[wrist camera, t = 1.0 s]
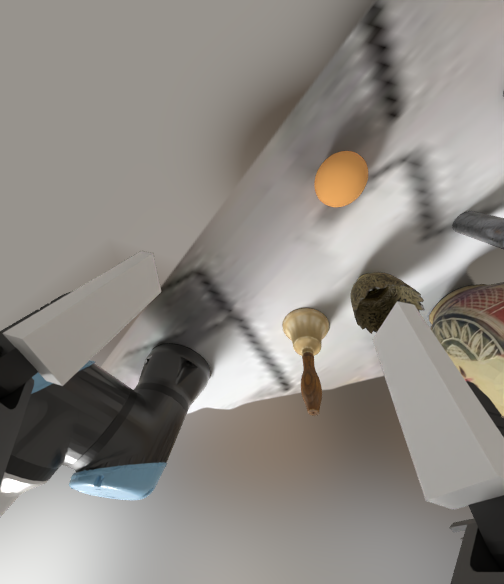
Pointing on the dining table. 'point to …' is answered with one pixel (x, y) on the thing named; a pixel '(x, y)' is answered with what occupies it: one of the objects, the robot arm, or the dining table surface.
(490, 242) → the gate post
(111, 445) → the robot arm
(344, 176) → the ball
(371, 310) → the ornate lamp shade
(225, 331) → the dining table surface
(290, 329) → the hand bell
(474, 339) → the ceramic jug
